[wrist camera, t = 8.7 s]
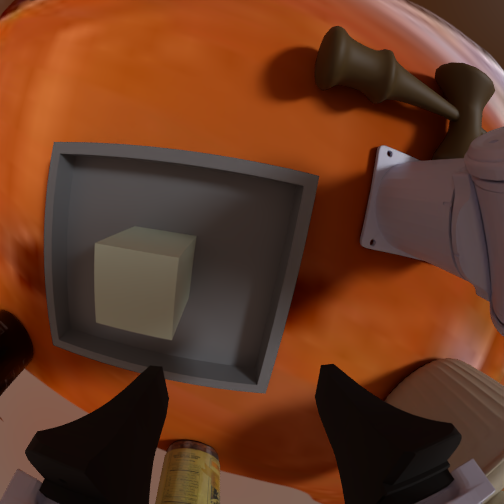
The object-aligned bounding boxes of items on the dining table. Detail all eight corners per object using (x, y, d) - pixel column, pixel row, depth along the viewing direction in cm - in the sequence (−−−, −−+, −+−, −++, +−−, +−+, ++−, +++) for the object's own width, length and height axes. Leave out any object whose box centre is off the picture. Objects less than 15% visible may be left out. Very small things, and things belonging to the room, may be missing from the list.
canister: (455, 300, 22) (599, 404, 1) (475, 379, 26) (553, 459, 5) (321, 412, 24) (383, 589, 3) (379, 457, 28) (428, 560, 7)
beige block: (196, 235, 18) (179, 258, 12) (189, 297, 19) (171, 340, 13) (134, 226, 18) (94, 242, 12) (130, 286, 19) (95, 322, 13)
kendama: (317, 26, 16) (485, 111, 18) (300, 122, 19) (479, 193, 20) (337, -12, 10) (522, 105, 12) (321, 101, 13) (520, 200, 14)
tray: (306, 177, 19) (319, 176, 16) (262, 370, 22) (265, 393, 19) (75, 146, 17) (54, 142, 14) (69, 329, 20) (53, 345, 17)
